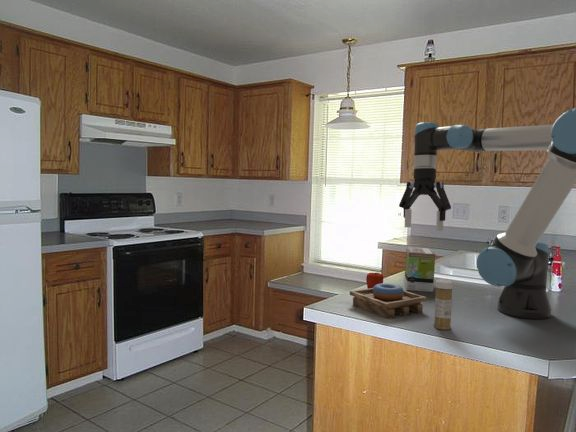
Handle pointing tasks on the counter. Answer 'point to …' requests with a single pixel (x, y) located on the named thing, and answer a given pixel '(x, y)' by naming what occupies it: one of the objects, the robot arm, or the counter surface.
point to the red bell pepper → (374, 279)
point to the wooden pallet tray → (387, 303)
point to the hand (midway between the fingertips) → (423, 228)
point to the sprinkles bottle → (443, 304)
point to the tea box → (419, 269)
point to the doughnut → (388, 292)
